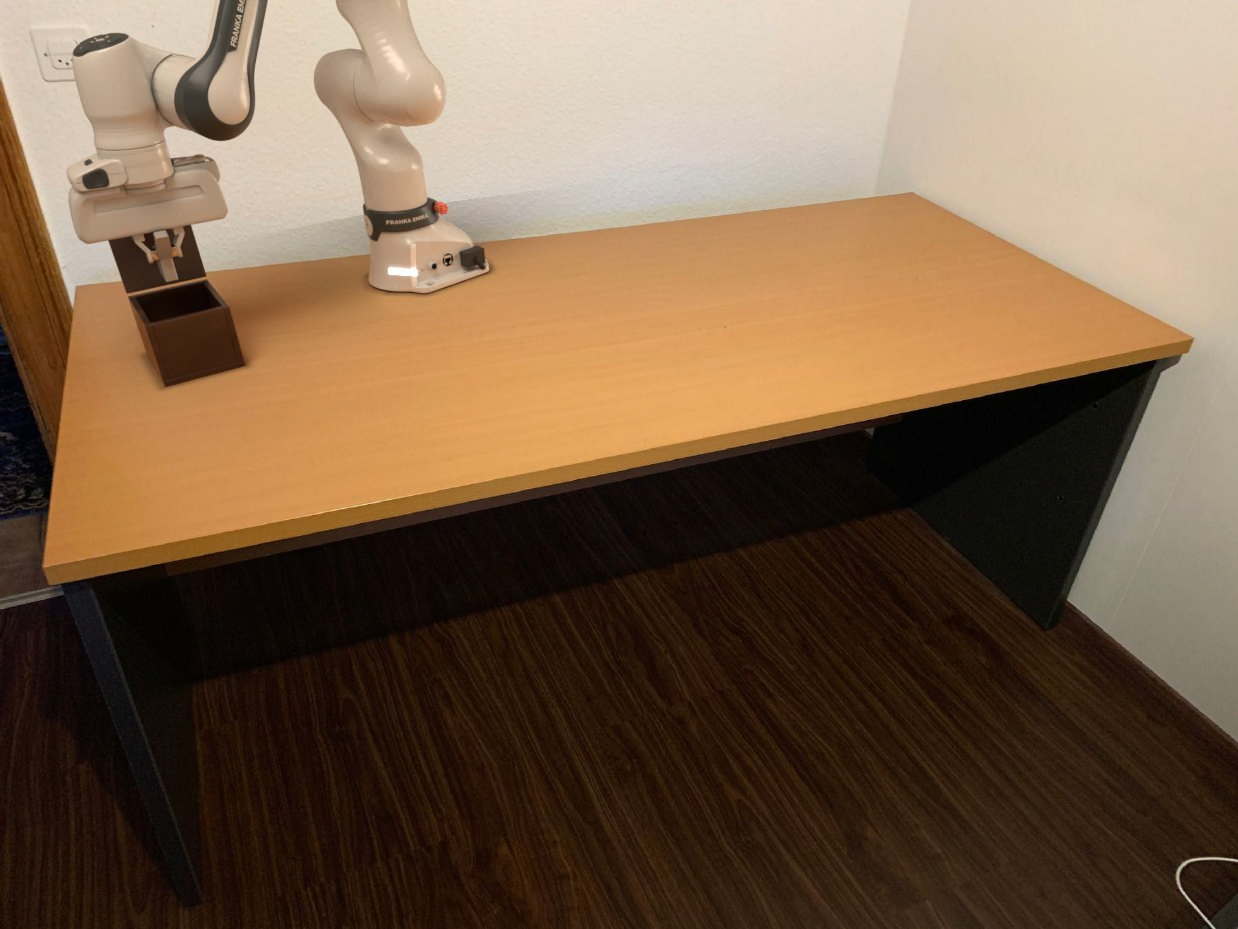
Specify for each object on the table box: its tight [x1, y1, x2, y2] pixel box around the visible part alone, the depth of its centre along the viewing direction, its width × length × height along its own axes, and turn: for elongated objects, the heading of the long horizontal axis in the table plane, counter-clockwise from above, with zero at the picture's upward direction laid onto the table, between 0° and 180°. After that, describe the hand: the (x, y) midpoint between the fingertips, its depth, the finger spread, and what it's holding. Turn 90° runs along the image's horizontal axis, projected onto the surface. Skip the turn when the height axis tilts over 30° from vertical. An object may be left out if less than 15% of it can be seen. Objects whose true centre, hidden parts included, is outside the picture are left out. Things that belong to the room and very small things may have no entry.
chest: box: [127, 278, 246, 388], centre depth 141 cm, size 13×12×10 cm
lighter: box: [153, 230, 178, 282], centre depth 134 cm, size 7×2×8 cm, turn 34°
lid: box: [107, 225, 207, 294], centre depth 142 cm, size 14×12×5 cm
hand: (165, 259), depth 135 cm, fingers closed on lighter, 2 cm apart
